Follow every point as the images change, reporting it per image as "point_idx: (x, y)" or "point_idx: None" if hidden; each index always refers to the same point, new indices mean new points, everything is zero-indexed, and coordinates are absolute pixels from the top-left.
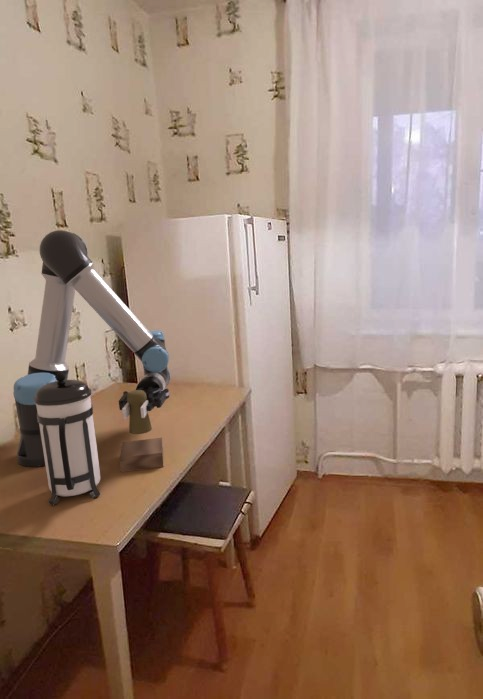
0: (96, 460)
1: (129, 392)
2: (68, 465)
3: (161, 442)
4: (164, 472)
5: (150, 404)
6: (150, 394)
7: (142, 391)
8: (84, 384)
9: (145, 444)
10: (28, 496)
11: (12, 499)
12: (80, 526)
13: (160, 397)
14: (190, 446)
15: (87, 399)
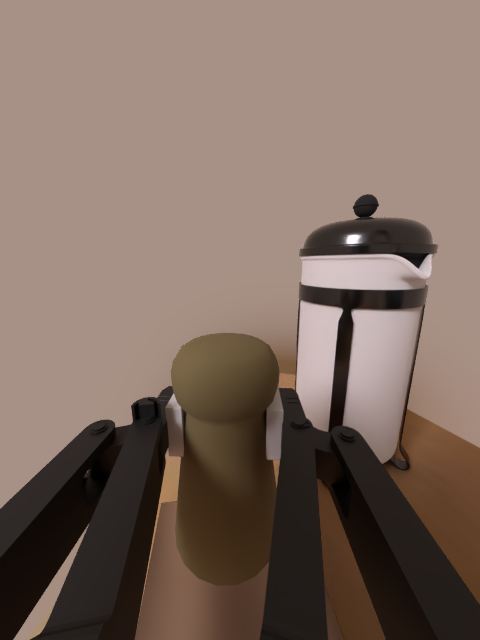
0: (296, 387)
1: (262, 344)
2: (297, 331)
3: (137, 635)
4: (168, 500)
5: (162, 397)
6: (100, 567)
7: (189, 343)
8: (316, 230)
9: (218, 617)
10: (421, 439)
11: (441, 433)
12: (278, 383)
13: (69, 444)
14: None
15: (302, 262)
